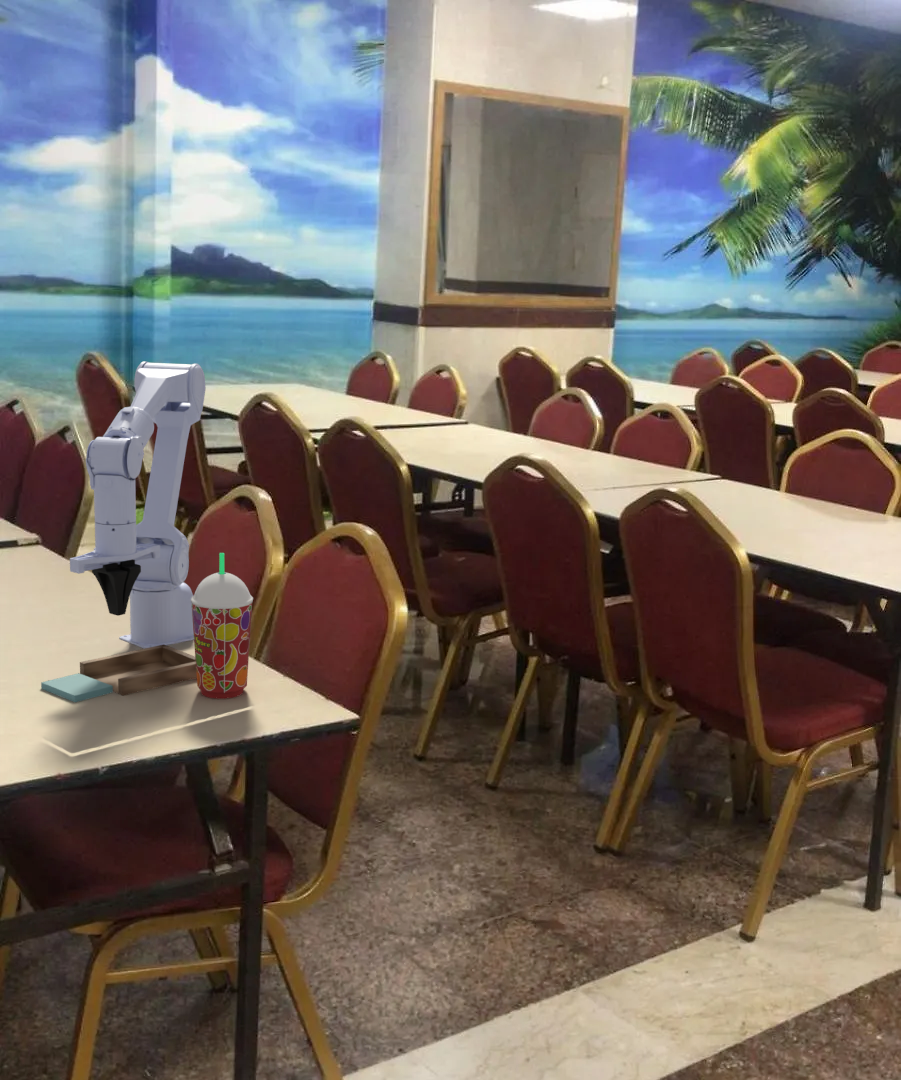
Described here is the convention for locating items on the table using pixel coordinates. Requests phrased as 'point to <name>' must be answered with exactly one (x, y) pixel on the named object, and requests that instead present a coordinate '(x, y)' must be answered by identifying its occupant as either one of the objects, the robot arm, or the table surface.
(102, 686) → the cover plate
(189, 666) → the walnut box
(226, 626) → the smoothie
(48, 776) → the table surface
